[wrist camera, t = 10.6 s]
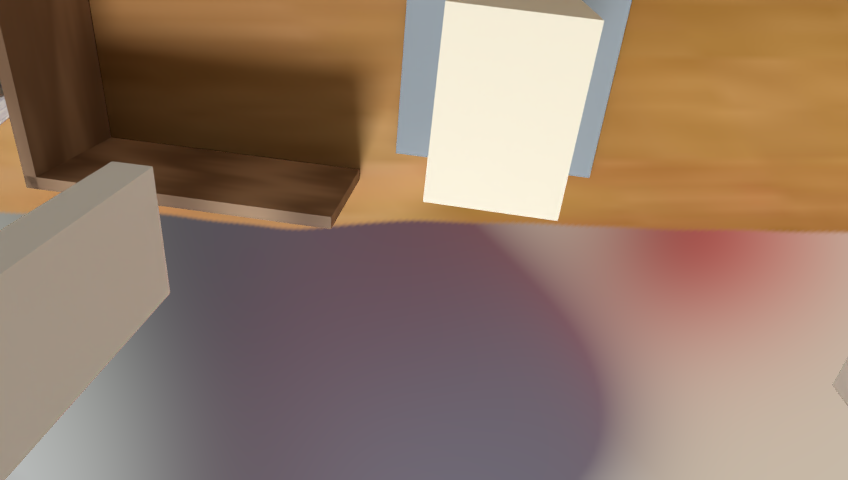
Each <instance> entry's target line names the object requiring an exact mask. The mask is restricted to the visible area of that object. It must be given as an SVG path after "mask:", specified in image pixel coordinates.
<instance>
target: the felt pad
mask: <svg viewBox="0 0 848 480" xmlns="http://www.w3.org/2000/svg"><path fill="white" fill-rule="evenodd" d="M445 1H446V0H407V6H406V20H405V34H404V48H403V62H402V76H401V90H400V104H399V118H398V132H397V146H396V153H399V154H407V155H415V156H422V157H428V152H429V143H430V134H431V125H432V116H433V107H434V98H435V89H436V80H437V71H438V62H439V53H440V44H441V35H442V26H443V17H444V8H445ZM582 1H583V2H584V3H586V4H587V5H588V6H589V7H590V8H591V9H592V10H593V11H594V12H596V13H597V14H598V15H599V16H600V17H601V18H602V19H603V20H604V24H603V29H602V33H601V37H600V41H599V46H598V50H597V54H596V59H595V63H594V67H593V71H592V76H591V80H590V84H589V89H588V93H587V97H586V101H585V106H584V110H583V114H582V119H581V123H580V127H579V131H578V136H577V140H576V144H575V148H574V153H573V157H572V161H571V166H570V170H569V174H568V175H571V176H579V177H587V178H589V177H590V173H591V169H592V164H593V160H594V156H595V152H596V148H597V144H598V139H599V135H600V131H601V127H602V123H603V119H604V114H605V110H606V106H607V102H608V98H609V94H610V89H611V85H612V81H613V77H614V73H615V69H616V64H617V60H618V56H619V52H620V48H621V43H622V39H623V35H624V31H625V27H626V23H627V18H628V14H629V10H630V6H631V2H632V0H582Z"/></svg>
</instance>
